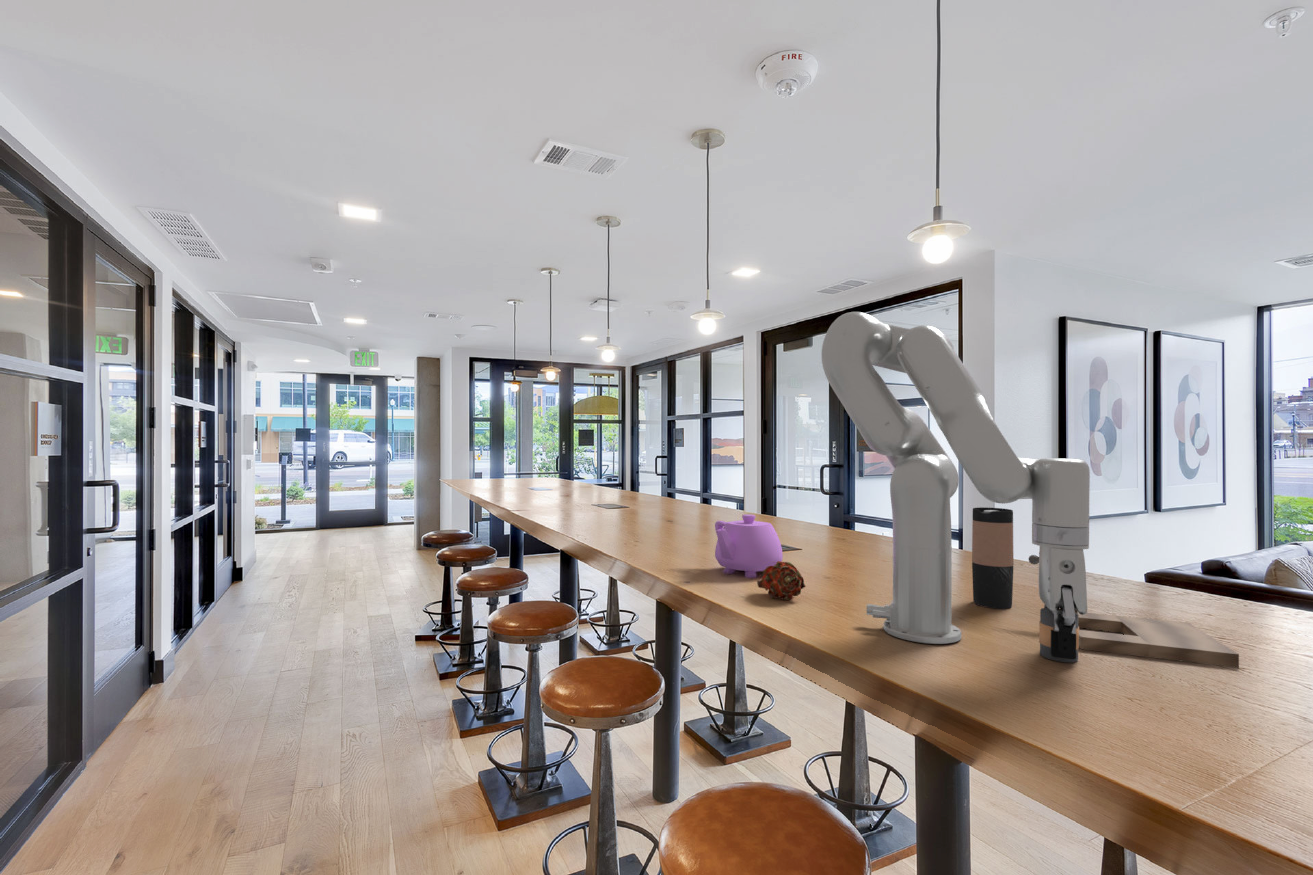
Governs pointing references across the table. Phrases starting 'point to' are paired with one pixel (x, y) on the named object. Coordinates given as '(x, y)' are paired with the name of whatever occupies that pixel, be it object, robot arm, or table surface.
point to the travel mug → (992, 557)
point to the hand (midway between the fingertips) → (1058, 650)
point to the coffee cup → (1045, 635)
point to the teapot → (747, 545)
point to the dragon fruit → (782, 580)
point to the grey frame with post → (1151, 638)
